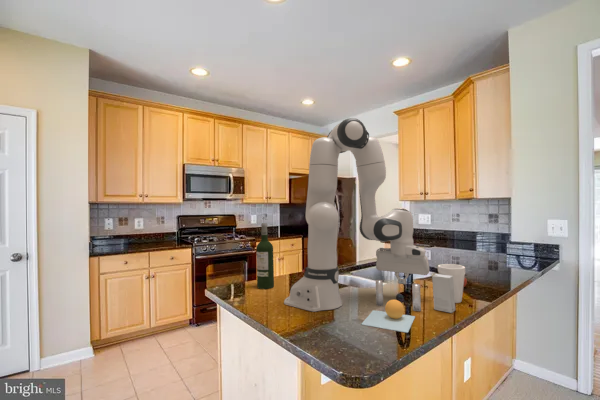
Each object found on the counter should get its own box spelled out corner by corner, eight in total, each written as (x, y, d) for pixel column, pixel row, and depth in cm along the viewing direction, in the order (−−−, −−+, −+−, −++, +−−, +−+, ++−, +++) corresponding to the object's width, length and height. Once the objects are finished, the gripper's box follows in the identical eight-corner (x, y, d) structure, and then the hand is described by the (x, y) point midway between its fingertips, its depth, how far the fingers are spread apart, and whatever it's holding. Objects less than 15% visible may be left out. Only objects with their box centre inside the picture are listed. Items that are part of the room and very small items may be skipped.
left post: (375, 305, 112) (374, 281, 112) (377, 303, 115) (376, 279, 115) (382, 306, 111) (381, 281, 111) (384, 304, 113) (383, 280, 114)
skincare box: (455, 310, 105) (454, 275, 106) (451, 313, 102) (450, 277, 102) (437, 306, 110) (436, 273, 110) (432, 309, 106) (431, 275, 107)
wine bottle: (254, 288, 140) (252, 223, 140) (261, 284, 147) (260, 222, 148) (269, 289, 137) (268, 223, 138) (276, 285, 144) (275, 222, 145)
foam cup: (469, 304, 111) (468, 269, 111) (442, 303, 112) (441, 268, 113) (461, 296, 120) (460, 264, 120) (436, 296, 122) (435, 263, 122)
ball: (386, 302, 105) (385, 319, 101) (385, 295, 100) (383, 313, 97) (405, 304, 102) (404, 322, 99) (404, 298, 98) (402, 316, 94)
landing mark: (361, 324, 95) (361, 324, 95) (373, 310, 107) (373, 310, 107) (407, 332, 88) (407, 332, 88) (415, 316, 100) (415, 316, 100)
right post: (412, 310, 106) (411, 284, 106) (413, 308, 108) (412, 283, 108) (420, 311, 105) (419, 285, 105) (421, 309, 107) (420, 283, 107)
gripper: (374, 248, 124) (374, 282, 123) (427, 252, 114) (428, 288, 114) (378, 246, 129) (378, 278, 129) (429, 250, 119) (429, 285, 119)
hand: (401, 283), depth 121 cm, fingers closed
